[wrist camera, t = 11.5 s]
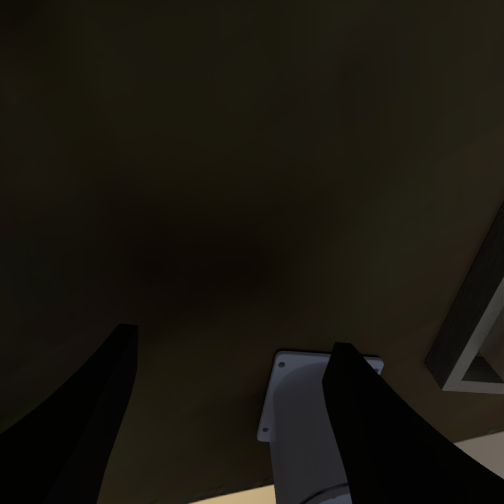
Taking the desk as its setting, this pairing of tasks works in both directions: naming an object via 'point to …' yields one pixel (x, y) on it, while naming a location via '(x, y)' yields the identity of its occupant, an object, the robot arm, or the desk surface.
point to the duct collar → (472, 323)
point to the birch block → (495, 345)
